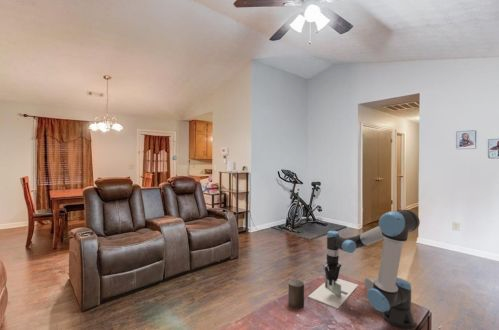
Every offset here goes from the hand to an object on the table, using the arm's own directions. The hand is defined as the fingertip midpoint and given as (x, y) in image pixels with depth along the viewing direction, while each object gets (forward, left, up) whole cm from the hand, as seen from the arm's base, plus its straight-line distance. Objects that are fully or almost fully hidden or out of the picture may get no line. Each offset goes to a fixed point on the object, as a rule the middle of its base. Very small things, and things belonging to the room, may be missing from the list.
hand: (331, 289), depth 170 cm
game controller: (+21, -21, -4) cm, 30 cm away
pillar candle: (-24, +13, -4) cm, 28 cm away
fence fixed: (+15, +7, -3) cm, 17 cm away
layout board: (+7, +1, -4) cm, 8 cm away
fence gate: (+3, 0, -3) cm, 4 cm away
